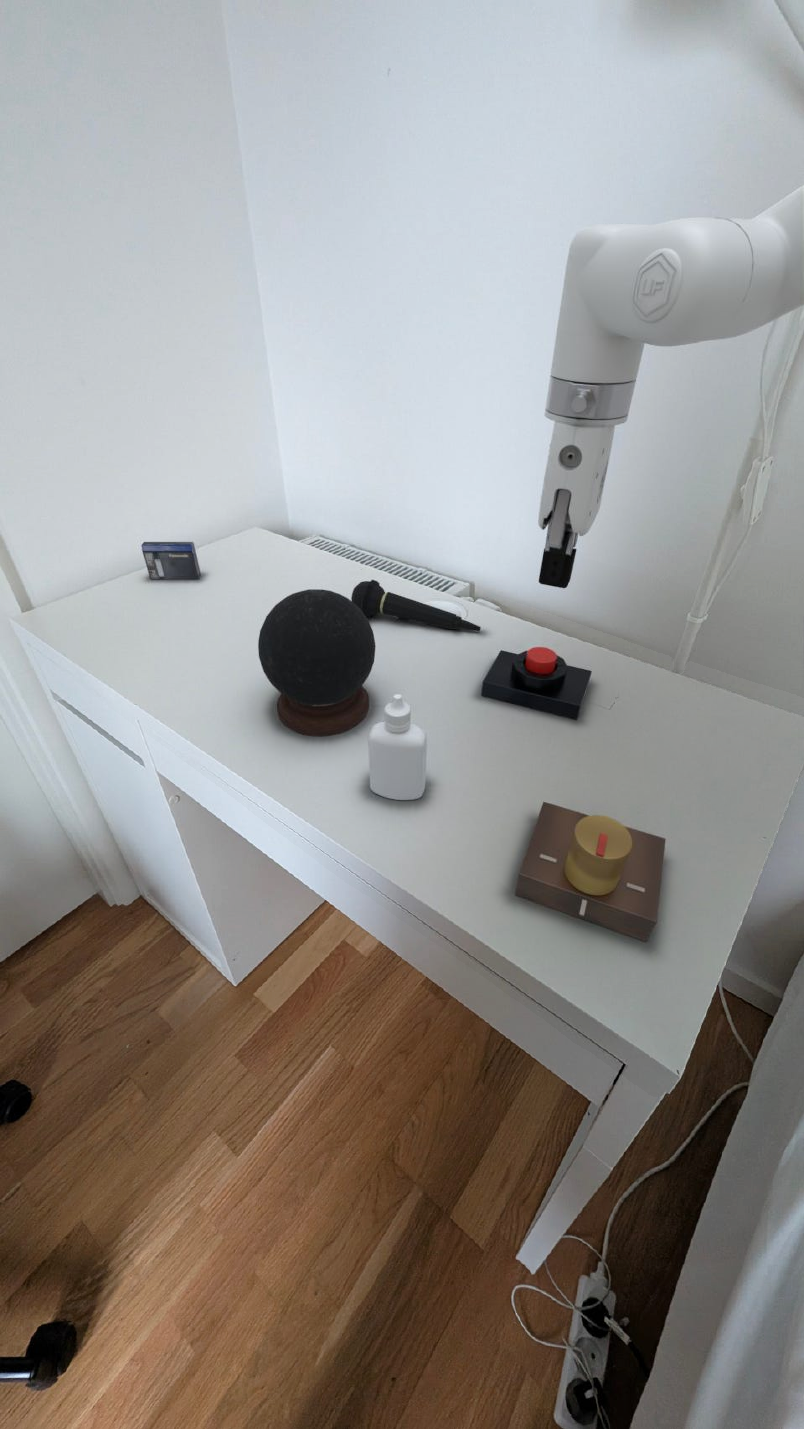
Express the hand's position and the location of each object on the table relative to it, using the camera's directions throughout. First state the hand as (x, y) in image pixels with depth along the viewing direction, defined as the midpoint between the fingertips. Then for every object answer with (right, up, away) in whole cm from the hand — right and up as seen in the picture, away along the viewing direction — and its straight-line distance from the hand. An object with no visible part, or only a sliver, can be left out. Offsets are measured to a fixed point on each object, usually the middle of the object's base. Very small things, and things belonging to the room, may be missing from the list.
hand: (553, 582), depth 65 cm
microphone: (-16, -1, +22) cm, 27 cm away
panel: (0, -29, -13) cm, 32 cm away
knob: (-1, -28, -16) cm, 32 cm away
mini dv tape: (-56, +9, +34) cm, 66 cm away
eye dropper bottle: (-17, -23, -4) cm, 29 cm away
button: (0, -9, +7) cm, 11 cm away
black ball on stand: (-27, -14, +6) cm, 31 cm away
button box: (0, -12, +9) cm, 15 cm away
